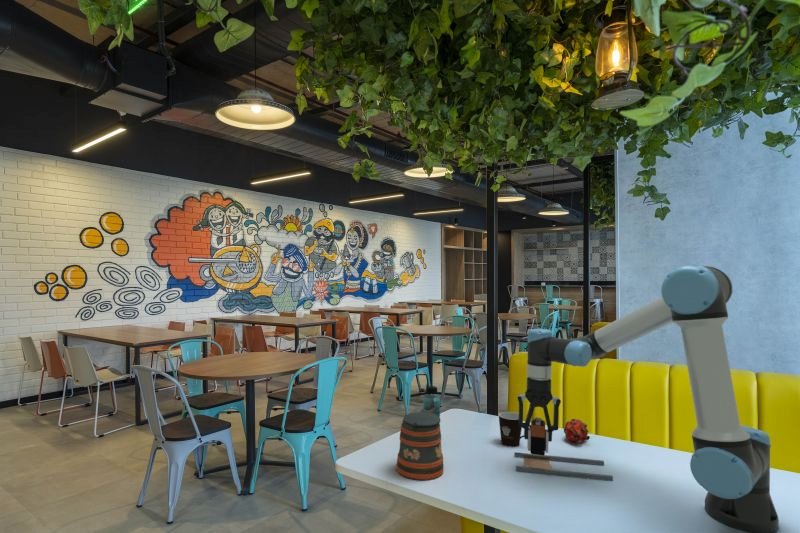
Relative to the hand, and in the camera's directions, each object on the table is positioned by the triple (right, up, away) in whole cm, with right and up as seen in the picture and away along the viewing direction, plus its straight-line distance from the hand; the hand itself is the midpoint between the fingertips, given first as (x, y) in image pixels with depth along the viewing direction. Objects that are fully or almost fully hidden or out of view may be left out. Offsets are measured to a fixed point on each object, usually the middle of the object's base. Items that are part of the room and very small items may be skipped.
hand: (537, 450), depth 145 cm
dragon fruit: (+21, -6, +21) cm, 30 cm away
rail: (+7, -5, -2) cm, 9 cm away
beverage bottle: (-33, -5, +18) cm, 38 cm away
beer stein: (-37, -5, -3) cm, 38 cm away
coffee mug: (-4, -5, +17) cm, 18 cm away
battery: (0, -1, 0) cm, 1 cm away
